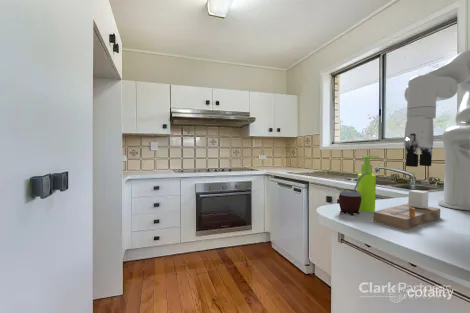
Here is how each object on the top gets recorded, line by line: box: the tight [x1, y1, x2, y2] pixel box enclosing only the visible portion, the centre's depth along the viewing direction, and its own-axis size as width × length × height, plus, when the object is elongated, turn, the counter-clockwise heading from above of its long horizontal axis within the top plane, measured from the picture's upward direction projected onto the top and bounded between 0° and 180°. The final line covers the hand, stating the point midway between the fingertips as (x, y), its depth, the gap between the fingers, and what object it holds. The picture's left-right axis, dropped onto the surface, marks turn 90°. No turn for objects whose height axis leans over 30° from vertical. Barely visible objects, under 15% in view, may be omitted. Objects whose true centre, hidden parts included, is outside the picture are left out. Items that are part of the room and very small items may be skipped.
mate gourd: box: [338, 172, 368, 216], centre depth 82 cm, size 8×8×15 cm
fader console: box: [372, 203, 441, 231], centre depth 76 cm, size 23×9×6 cm, turn 121°
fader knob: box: [407, 189, 429, 208], centre depth 79 cm, size 4×4×5 cm
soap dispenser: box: [356, 155, 380, 213], centre depth 86 cm, size 6×7×20 cm
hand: (418, 166), depth 79 cm, fingers open, 9 cm apart
